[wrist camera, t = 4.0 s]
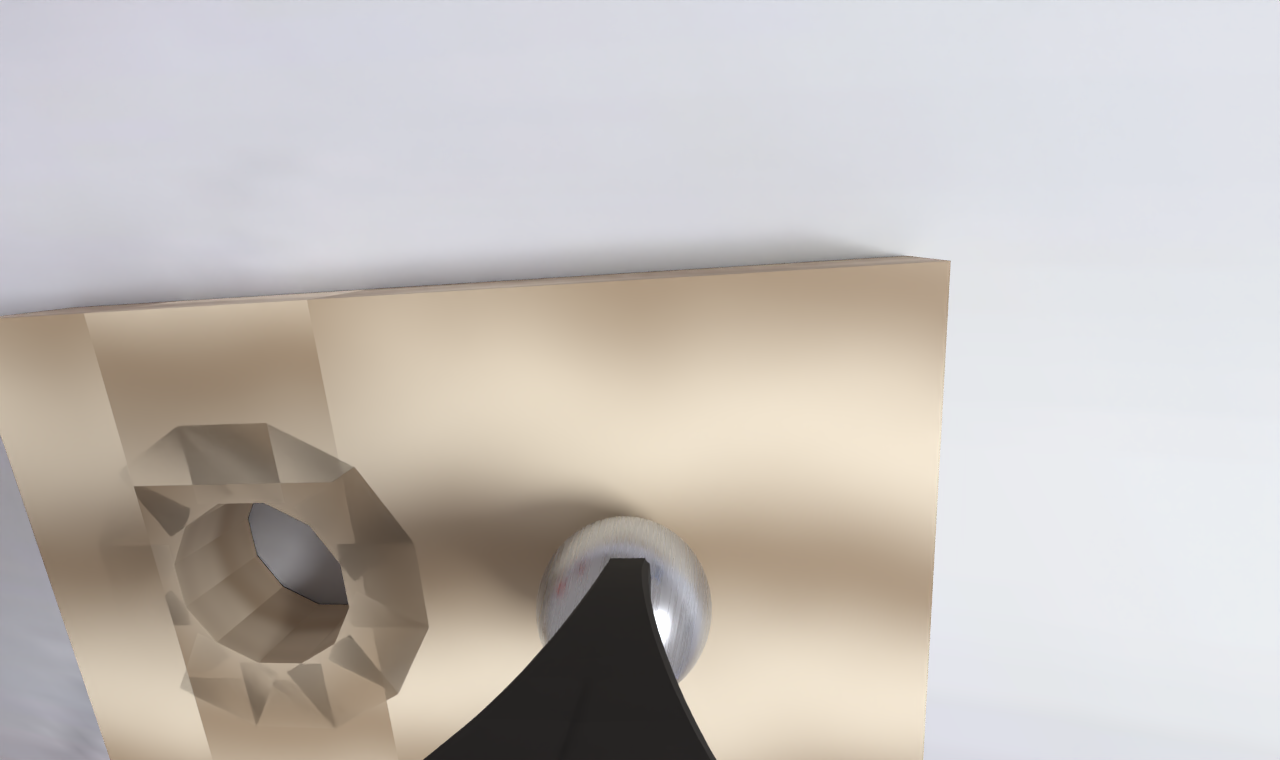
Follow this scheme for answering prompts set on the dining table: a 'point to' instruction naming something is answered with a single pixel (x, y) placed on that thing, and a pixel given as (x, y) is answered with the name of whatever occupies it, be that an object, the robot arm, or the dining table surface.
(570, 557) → the silver metal ball
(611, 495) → the birch plate
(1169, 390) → the dining table surface
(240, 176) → the dining table surface
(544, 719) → the robot arm
